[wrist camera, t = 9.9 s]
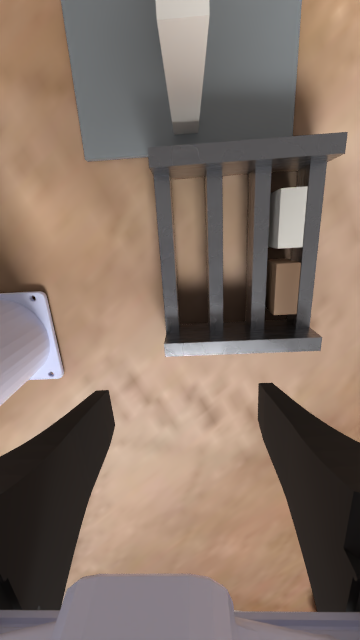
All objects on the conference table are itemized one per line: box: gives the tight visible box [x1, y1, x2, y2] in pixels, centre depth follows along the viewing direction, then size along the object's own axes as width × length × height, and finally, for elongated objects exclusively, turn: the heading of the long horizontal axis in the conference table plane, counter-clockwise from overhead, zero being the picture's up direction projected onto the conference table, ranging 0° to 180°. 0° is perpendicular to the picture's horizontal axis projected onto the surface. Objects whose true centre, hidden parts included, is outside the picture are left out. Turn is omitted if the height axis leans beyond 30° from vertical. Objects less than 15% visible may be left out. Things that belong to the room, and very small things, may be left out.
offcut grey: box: [268, 186, 308, 249], centre depth 18 cm, size 2×4×3 cm, turn 4°
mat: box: [61, 0, 302, 162], centre depth 16 cm, size 14×10×1 cm
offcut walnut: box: [265, 258, 301, 315], centre depth 20 cm, size 2×4×3 cm, turn 3°
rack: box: [148, 132, 348, 357], centre depth 18 cm, size 11×13×4 cm
